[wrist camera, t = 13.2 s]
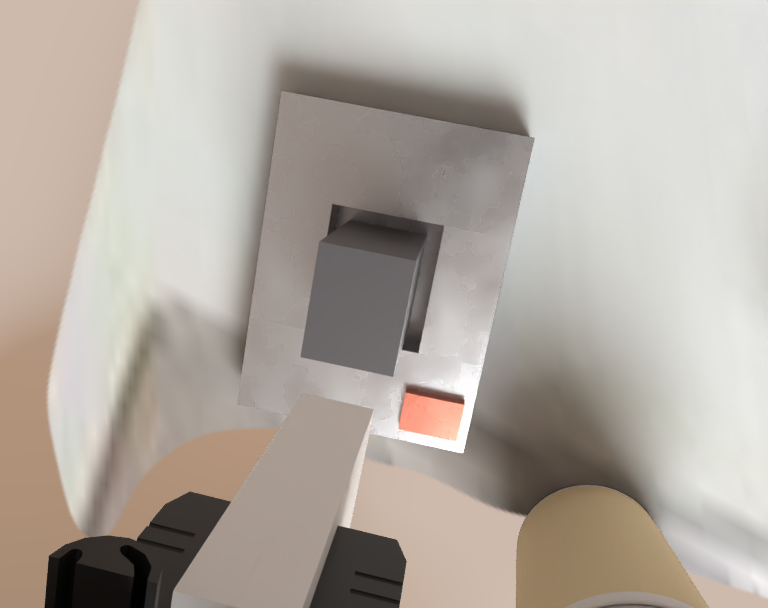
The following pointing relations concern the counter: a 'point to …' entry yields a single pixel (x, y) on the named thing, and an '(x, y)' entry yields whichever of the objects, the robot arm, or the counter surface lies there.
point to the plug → (363, 296)
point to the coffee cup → (597, 555)
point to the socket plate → (395, 210)
